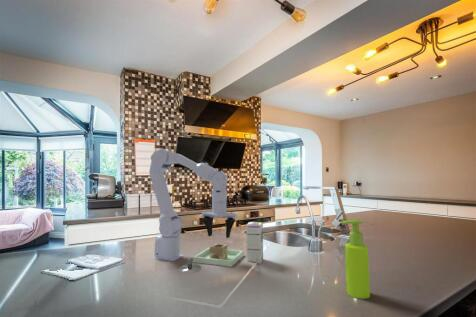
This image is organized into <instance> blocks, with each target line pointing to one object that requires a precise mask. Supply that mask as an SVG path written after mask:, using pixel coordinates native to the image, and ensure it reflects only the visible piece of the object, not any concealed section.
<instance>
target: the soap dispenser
mask: <svg viewBox="0 0 476 317" xmlns="http://www.w3.org/2000/svg"><path fill="white" fill-rule="evenodd" d="M340 223H341V224H343V225H350V224H351V225H352V227H351V228H352V229H351V230H352V231H349V232H348V234H349V238H348V239H349V242H348V243H347V242H346V243H345V244H344V254H345V257H344V258H345V284H346V294H347V295H348V296H350V297H353V298H356V299H361V300H362V299H365V300H367V299H369V298H370V297H371V291H370V290H371V288H370V287H371V286H370V285H371V284H370V264H369V259H370V258H369V246H368V245H365V244H364V243H363V242H364V239H363V233H362V232H361V231H360V225H361V224H363V222H362V220H361V221H360V220H354V219H353V220H352V219H349V220H348V219H347V220H343V221H341V222H340Z"/></svg>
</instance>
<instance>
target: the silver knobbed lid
mask: <svg viewBox="0 0 476 317" xmlns="http://www.w3.org/2000/svg"><path fill="white" fill-rule="evenodd" d="M201 269H202V266H201V265H198V264H195V263H194V264H193V257H188V258H187V264H184V265H181V266H179V267H178V269H177V271H178V272H181V273H188V274H189V273H196V272H198V271H200V270H201Z"/></svg>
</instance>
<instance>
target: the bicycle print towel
mask: <svg viewBox="0 0 476 317" xmlns="http://www.w3.org/2000/svg"><path fill="white" fill-rule="evenodd" d="M70 263H71V264H74V265H77V266H81V267H80V268H82V269H83V270H74V271H69V270H62V269H60V270H57V271H58V272H57V271H49V269H44V270H42V271H45V272H50V273H53V274H55V275H59V276H62V277H65V278H68V279H69V280H76V281H78V280H77V279H79V280H81V279H84V278H86V277H85V276H87V277H89V276H91V275H90V274H92V275H94V274H93V273H95V274H97V273H96V272H98V273H100V272H102V270H103V271H105V269H106V270H108V269H111V268H114V267H117V266H120V265H123V264H124V263H125V262H124V258H122V257H121V258H119V257H112V256H106V255H97V254H93V253H92V254H86V255H83V256H78V257H75V258H70V259H67V260H66V262H65V263H64V264H70ZM87 268H90V269H92V270H90V269H87ZM99 271H100V272H99ZM88 275H89V276H88ZM83 277H84V278H83ZM80 278H81V279H80ZM69 280H68V281H69Z"/></svg>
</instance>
